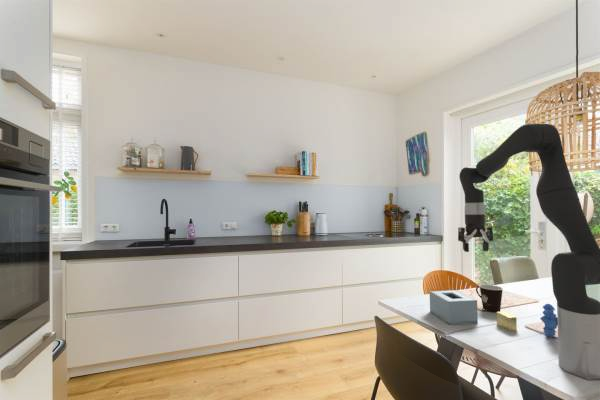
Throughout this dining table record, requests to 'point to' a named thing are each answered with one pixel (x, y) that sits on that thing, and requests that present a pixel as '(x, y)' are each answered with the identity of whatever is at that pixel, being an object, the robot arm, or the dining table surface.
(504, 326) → the tan wooden block
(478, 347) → the dining table surface
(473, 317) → the box
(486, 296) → the coffee mug
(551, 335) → the grapes
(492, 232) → the robot arm
